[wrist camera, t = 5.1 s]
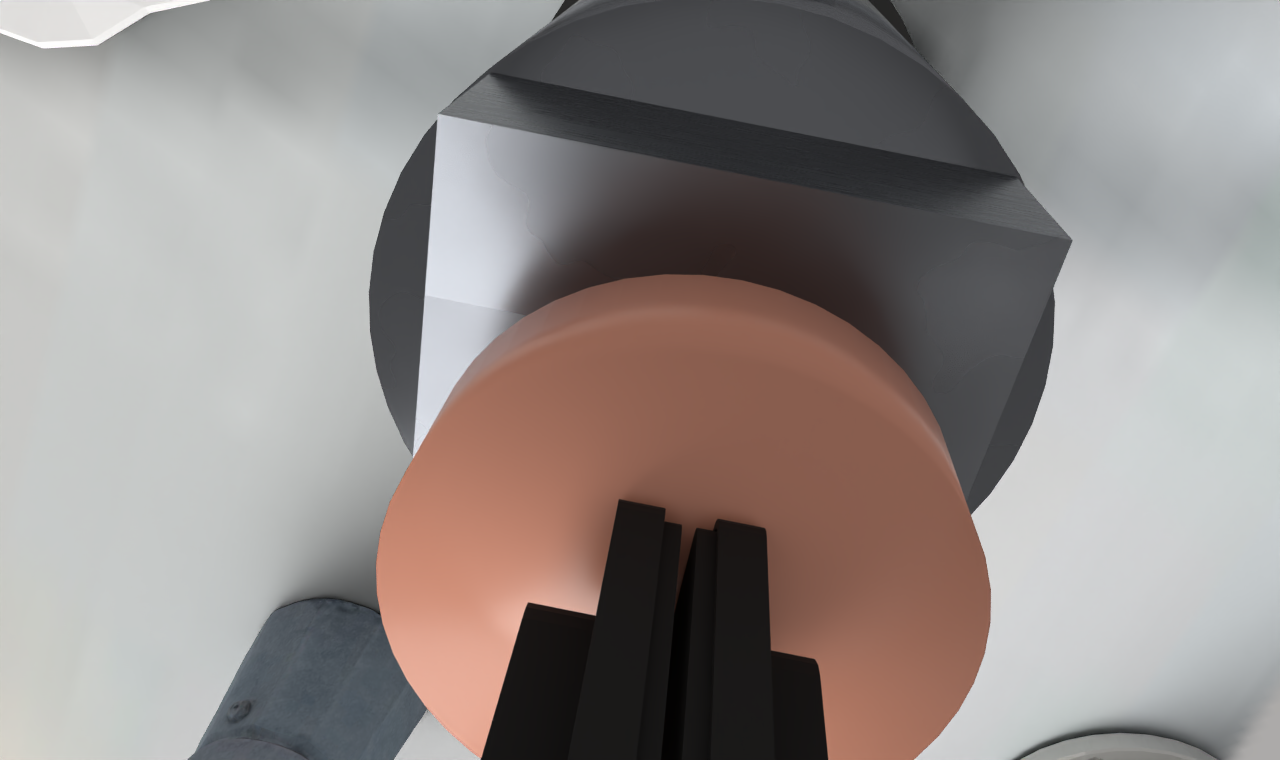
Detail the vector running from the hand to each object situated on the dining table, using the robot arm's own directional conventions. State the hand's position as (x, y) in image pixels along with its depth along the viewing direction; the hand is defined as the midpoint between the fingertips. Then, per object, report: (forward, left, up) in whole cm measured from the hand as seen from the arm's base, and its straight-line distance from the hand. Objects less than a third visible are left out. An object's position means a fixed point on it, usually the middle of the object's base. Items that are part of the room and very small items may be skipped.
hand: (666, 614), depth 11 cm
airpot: (0, 0, -25) cm, 25 cm away
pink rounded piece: (0, 0, -6) cm, 6 cm away
